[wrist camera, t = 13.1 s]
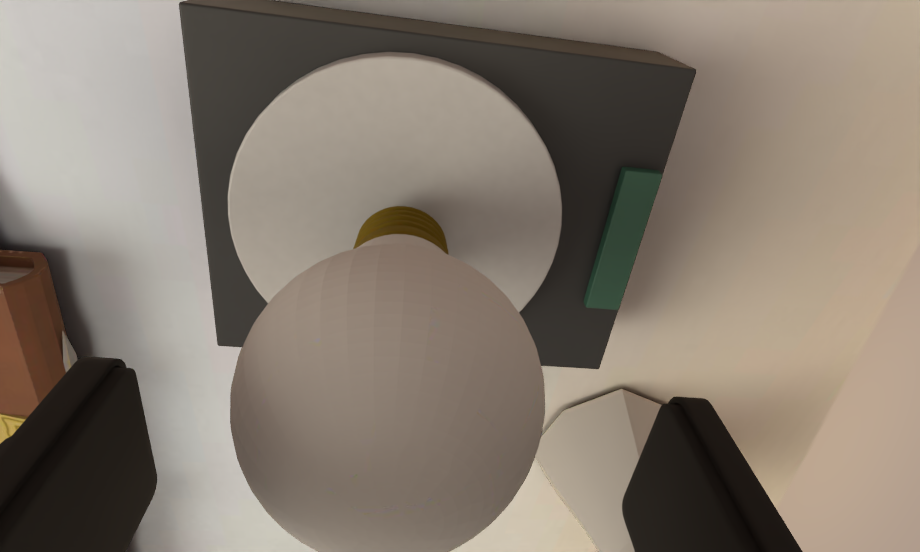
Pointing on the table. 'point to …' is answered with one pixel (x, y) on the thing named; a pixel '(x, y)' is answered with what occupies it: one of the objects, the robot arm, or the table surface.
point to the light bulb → (388, 396)
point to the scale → (426, 155)
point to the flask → (598, 461)
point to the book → (28, 337)
